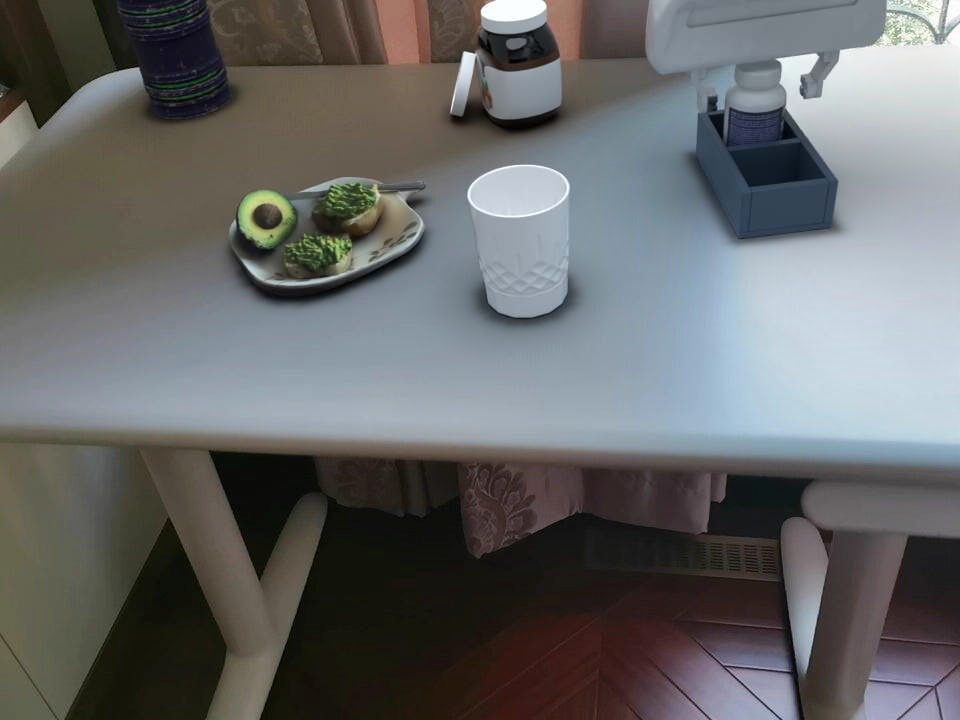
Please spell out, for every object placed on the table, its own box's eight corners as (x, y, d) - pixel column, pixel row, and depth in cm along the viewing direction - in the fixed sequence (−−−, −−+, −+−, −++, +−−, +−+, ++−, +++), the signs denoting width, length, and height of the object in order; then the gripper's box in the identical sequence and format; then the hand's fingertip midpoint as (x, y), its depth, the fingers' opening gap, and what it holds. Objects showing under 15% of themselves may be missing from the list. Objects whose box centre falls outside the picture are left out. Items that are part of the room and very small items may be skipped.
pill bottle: (789, 170, 89) (801, 71, 83) (734, 181, 89) (742, 82, 83) (764, 144, 93) (774, 48, 87) (712, 155, 93) (718, 58, 87)
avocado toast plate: (394, 166, 99) (387, 125, 96) (473, 242, 87) (468, 198, 84) (214, 227, 93) (201, 185, 90) (272, 319, 81) (258, 274, 78)
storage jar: (234, 110, 114) (189, -47, 102) (151, 126, 113) (96, -30, 101) (231, 78, 121) (190, -71, 110) (153, 92, 120) (103, -57, 109)
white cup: (525, 257, 84) (516, 154, 78) (593, 289, 80) (590, 183, 73) (460, 299, 80) (446, 195, 74) (528, 336, 76) (519, 228, 69)
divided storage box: (776, 145, 95) (781, 101, 92) (831, 227, 83) (839, 180, 80) (695, 155, 95) (697, 112, 92) (738, 239, 83) (742, 192, 80)
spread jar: (573, 121, 103) (569, 14, 95) (476, 149, 100) (464, 41, 93) (526, 82, 112) (519, -19, 104) (436, 107, 109) (422, 4, 102)
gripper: (881, -84, 81) (859, 73, 89) (640, -50, 81) (641, 103, 90) (913, -62, 76) (886, 102, 85) (656, -25, 76) (655, 133, 85)
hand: (758, 103), depth 87 cm, fingers open, 8 cm apart
